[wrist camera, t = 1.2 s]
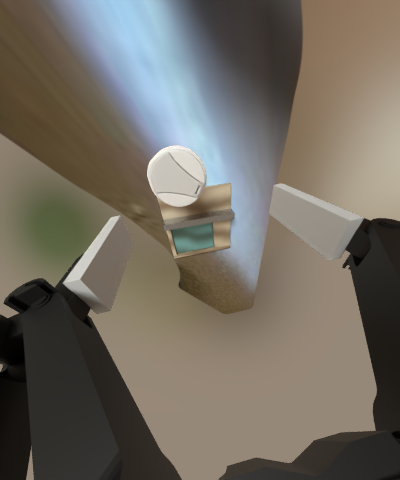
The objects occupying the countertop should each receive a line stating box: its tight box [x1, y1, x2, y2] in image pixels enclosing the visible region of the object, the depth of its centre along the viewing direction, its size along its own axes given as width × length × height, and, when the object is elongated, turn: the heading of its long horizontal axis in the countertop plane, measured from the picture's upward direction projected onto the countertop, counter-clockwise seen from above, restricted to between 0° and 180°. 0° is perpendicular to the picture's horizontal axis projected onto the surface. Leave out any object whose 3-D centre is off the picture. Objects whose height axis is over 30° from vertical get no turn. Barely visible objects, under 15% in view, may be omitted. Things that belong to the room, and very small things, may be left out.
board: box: [157, 183, 231, 258], centre depth 41 cm, size 20×18×1 cm
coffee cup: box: [147, 146, 206, 207], centre depth 26 cm, size 8×8×15 cm
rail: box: [163, 208, 234, 231], centre depth 38 cm, size 2×18×3 cm, turn 97°
